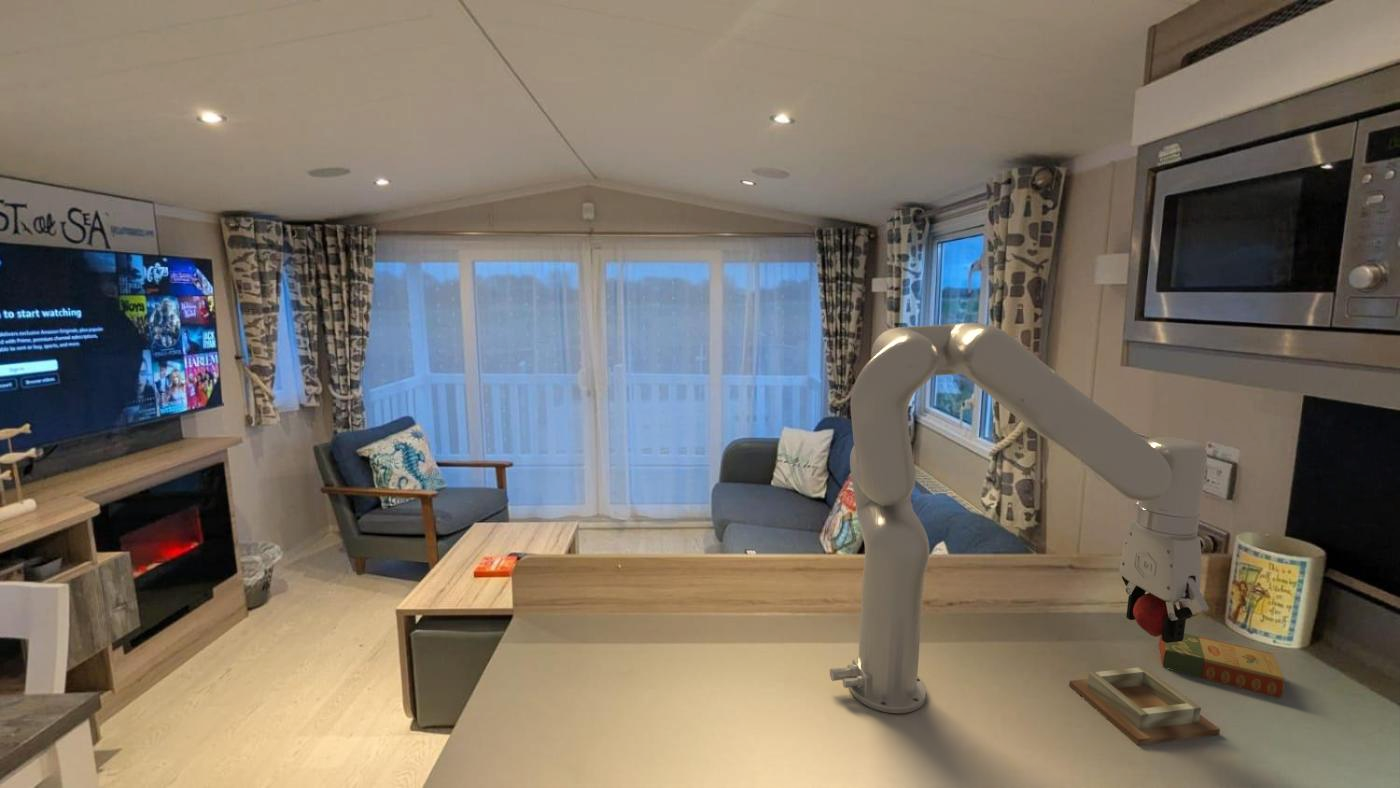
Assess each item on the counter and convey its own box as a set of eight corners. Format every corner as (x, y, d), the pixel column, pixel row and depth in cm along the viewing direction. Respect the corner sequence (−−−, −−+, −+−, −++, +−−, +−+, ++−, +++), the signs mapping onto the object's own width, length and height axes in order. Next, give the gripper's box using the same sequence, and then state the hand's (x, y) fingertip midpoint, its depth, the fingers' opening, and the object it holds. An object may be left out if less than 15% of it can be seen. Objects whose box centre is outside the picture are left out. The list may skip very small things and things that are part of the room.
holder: (1137, 745, 93) (1140, 724, 93) (1069, 686, 107) (1071, 667, 106) (1219, 734, 95) (1222, 714, 95) (1141, 677, 109) (1144, 659, 108)
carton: (1281, 701, 104) (1285, 677, 103) (1161, 669, 112) (1164, 647, 111) (1270, 674, 111) (1274, 652, 110) (1158, 646, 119) (1160, 625, 118)
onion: (1163, 650, 95) (1169, 601, 94) (1123, 632, 100) (1128, 585, 99) (1184, 639, 98) (1190, 591, 96) (1144, 622, 103) (1149, 576, 101)
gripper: (1100, 502, 103) (1090, 604, 106) (1197, 545, 86) (1182, 664, 90) (1141, 499, 104) (1129, 600, 108) (1244, 540, 88) (1227, 658, 91)
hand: (1153, 628), depth 99 cm, fingers closed on onion, 5 cm apart
